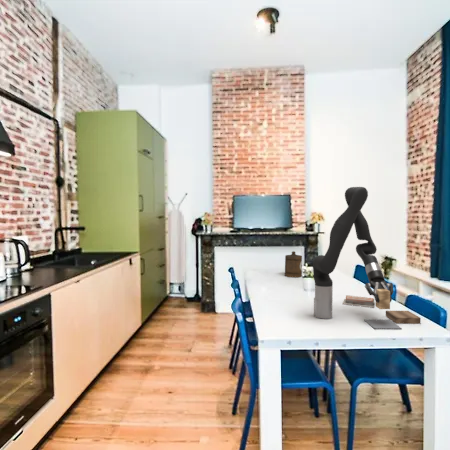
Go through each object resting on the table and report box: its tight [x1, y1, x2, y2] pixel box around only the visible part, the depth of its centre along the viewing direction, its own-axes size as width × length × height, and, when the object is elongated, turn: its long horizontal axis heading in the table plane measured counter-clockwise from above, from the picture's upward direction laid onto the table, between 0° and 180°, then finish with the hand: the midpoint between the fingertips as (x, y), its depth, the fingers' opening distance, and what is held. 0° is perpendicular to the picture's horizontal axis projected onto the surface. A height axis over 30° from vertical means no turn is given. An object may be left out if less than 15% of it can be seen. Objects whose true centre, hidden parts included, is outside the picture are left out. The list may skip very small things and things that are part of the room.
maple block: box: [375, 289, 391, 310], centre depth 166 cm, size 5×5×9 cm
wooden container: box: [284, 250, 303, 278], centre depth 293 cm, size 15×15×22 cm
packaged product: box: [342, 295, 376, 309], centre depth 203 cm, size 18×5×10 cm
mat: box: [364, 318, 402, 330], centre depth 166 cm, size 13×13×1 cm
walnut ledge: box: [385, 310, 421, 325], centre depth 174 cm, size 12×12×3 cm
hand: (384, 301), depth 164 cm, fingers closed on maple block, 5 cm apart
